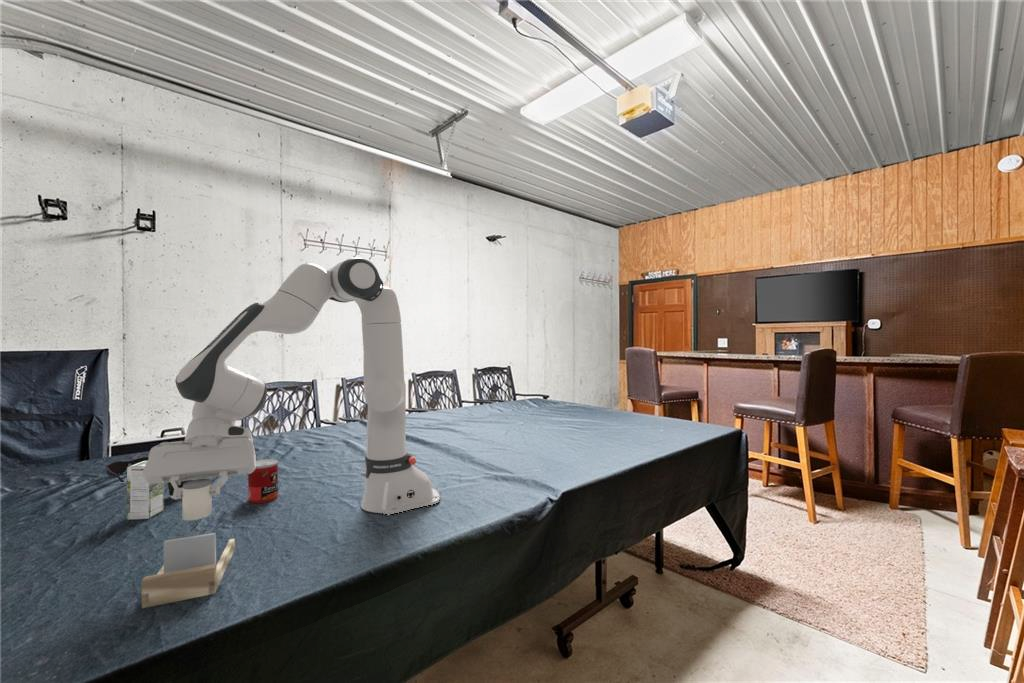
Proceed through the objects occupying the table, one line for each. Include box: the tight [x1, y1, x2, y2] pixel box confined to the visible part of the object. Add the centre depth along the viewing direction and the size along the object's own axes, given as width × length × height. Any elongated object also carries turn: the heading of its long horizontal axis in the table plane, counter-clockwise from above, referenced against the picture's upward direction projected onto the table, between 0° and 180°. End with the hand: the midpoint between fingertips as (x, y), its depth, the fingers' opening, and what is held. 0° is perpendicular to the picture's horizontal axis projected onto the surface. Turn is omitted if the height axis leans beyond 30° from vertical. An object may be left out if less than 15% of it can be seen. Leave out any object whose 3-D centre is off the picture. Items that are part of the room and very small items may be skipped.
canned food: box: [247, 458, 279, 504], centre depth 129 cm, size 8×8×11 cm
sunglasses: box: [105, 456, 149, 482], centre depth 150 cm, size 14×16×5 cm
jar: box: [181, 478, 213, 521], centre depth 90 cm, size 5×5×7 cm
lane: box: [141, 538, 236, 609], centre depth 87 cm, size 18×11×5 cm, turn 23°
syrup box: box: [126, 461, 165, 521], centre depth 117 cm, size 6×6×14 cm
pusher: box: [162, 532, 217, 573], centre depth 85 cm, size 1×8×8 cm, turn 113°
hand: (196, 495), depth 89 cm, fingers closed on jar, 5 cm apart
